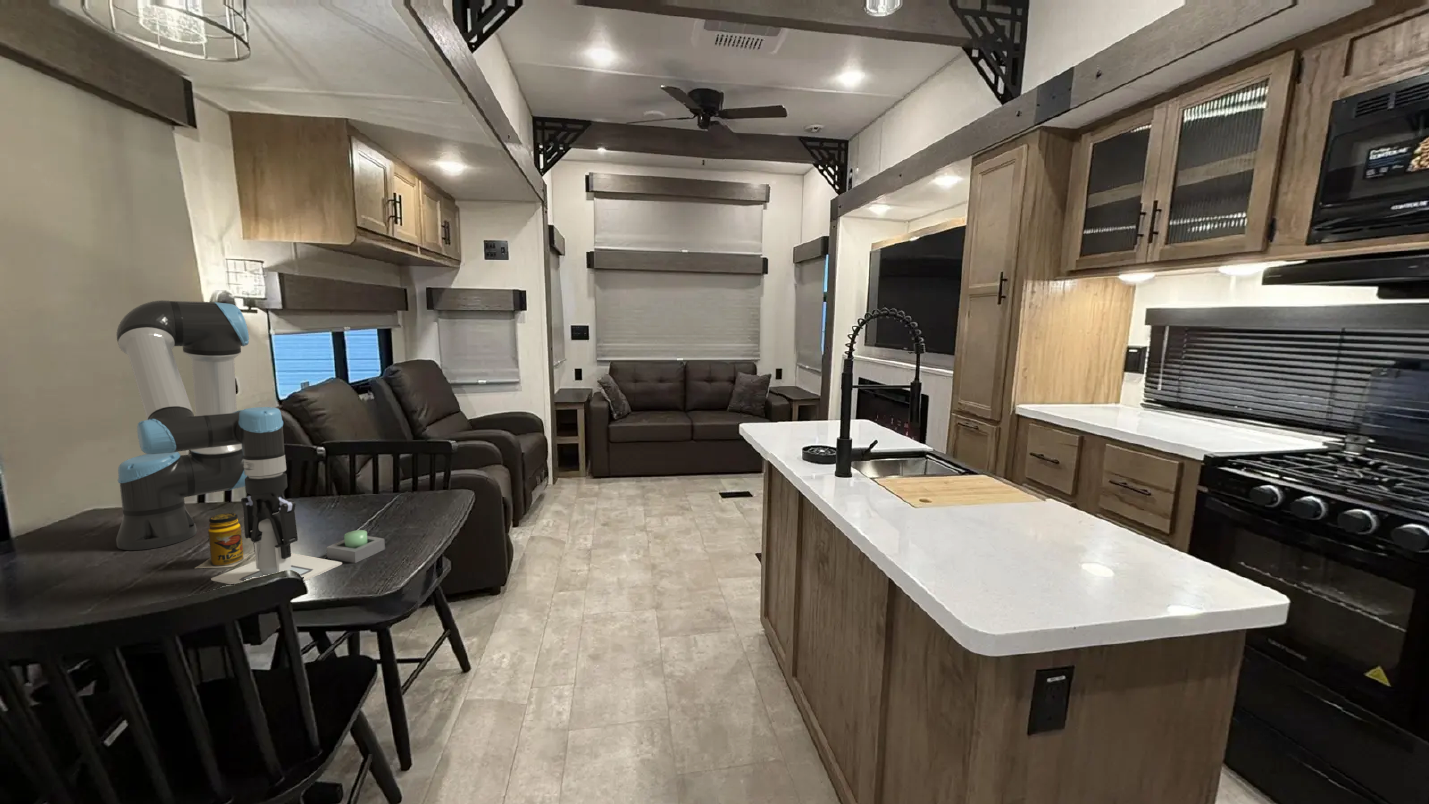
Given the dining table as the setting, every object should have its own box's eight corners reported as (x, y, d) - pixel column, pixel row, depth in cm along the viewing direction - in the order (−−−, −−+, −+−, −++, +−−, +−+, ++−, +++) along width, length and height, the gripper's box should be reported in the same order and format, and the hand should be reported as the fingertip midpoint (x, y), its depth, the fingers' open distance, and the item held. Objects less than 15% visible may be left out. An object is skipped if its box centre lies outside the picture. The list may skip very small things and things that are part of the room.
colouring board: (211, 580, 126) (210, 577, 126) (281, 553, 142) (281, 550, 142) (277, 594, 121) (276, 591, 121) (342, 564, 137) (342, 561, 137)
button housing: (327, 558, 140) (326, 547, 139) (358, 544, 148) (357, 534, 148) (355, 563, 138) (354, 551, 137) (384, 549, 146) (384, 538, 146)
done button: (340, 550, 141) (339, 536, 140) (357, 543, 146) (356, 529, 145) (355, 553, 140) (354, 538, 139) (372, 545, 145) (371, 531, 144)
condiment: (234, 566, 133) (230, 520, 132) (193, 569, 131) (188, 522, 130) (252, 554, 140) (248, 510, 139) (213, 556, 138) (209, 511, 137)
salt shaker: (271, 578, 126) (267, 525, 124) (251, 575, 127) (246, 522, 125) (295, 568, 131) (291, 516, 129) (276, 565, 132) (272, 514, 131)
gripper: (217, 474, 124) (227, 569, 128) (280, 483, 120) (288, 581, 123) (252, 466, 131) (260, 556, 135) (312, 474, 127) (319, 567, 130)
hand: (273, 568), depth 129 cm, fingers closed on salt shaker, 6 cm apart
